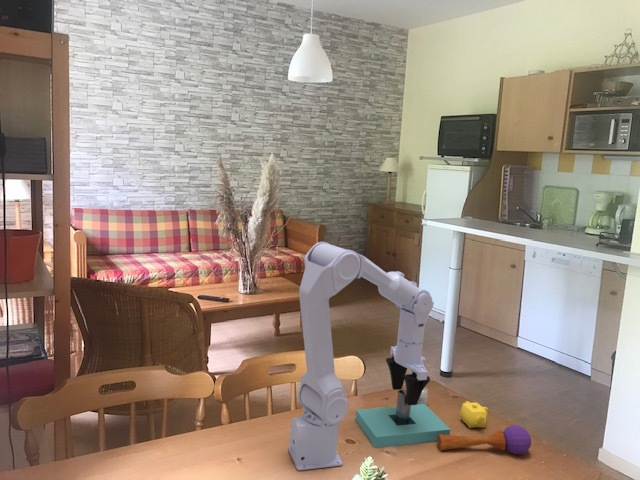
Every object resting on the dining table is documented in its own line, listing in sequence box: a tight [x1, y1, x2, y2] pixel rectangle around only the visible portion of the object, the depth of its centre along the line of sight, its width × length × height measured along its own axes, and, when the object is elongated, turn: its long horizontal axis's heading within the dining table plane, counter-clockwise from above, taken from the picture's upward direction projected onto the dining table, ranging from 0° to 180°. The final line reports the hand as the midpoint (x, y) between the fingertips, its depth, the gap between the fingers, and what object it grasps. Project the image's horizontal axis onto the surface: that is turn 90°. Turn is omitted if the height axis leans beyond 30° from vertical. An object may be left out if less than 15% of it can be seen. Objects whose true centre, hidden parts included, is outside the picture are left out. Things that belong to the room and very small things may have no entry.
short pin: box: [417, 386, 429, 406], centre depth 133 cm, size 3×3×4 cm
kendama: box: [436, 424, 532, 456], centre depth 115 cm, size 6×6×20 cm
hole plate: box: [354, 404, 451, 449], centre depth 121 cm, size 18×12×2 cm, turn 107°
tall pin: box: [395, 389, 411, 426], centre depth 120 cm, size 3×3×9 cm
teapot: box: [459, 400, 489, 429], centre depth 125 cm, size 8×6×5 cm
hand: (404, 396), depth 120 cm, fingers open, 7 cm apart
